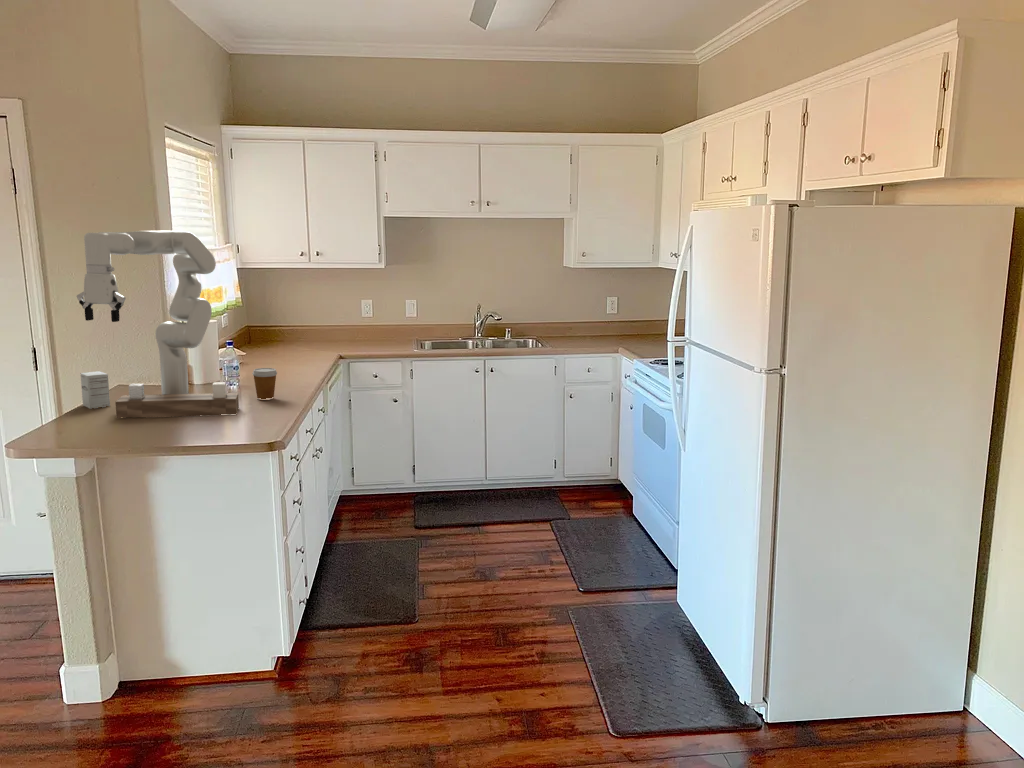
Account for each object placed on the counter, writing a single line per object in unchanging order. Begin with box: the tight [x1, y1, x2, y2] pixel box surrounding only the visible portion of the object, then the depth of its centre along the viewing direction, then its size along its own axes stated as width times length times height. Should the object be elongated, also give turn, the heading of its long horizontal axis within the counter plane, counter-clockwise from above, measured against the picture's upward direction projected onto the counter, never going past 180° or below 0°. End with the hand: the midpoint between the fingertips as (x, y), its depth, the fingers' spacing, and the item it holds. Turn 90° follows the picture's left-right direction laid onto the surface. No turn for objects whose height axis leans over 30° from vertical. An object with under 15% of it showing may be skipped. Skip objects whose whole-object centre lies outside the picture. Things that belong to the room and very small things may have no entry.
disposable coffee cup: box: [252, 367, 278, 399], centre depth 305 cm, size 10×10×12 cm
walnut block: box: [115, 392, 240, 419], centre depth 278 cm, size 11×40×6 cm, turn 105°
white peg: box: [211, 381, 227, 398], centre depth 280 cm, size 4×4×6 cm
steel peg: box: [127, 383, 145, 400], centre depth 273 cm, size 4×4×6 cm
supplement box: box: [80, 370, 111, 410], centre depth 284 cm, size 7×7×13 cm
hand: (102, 320), depth 258 cm, fingers open, 9 cm apart
